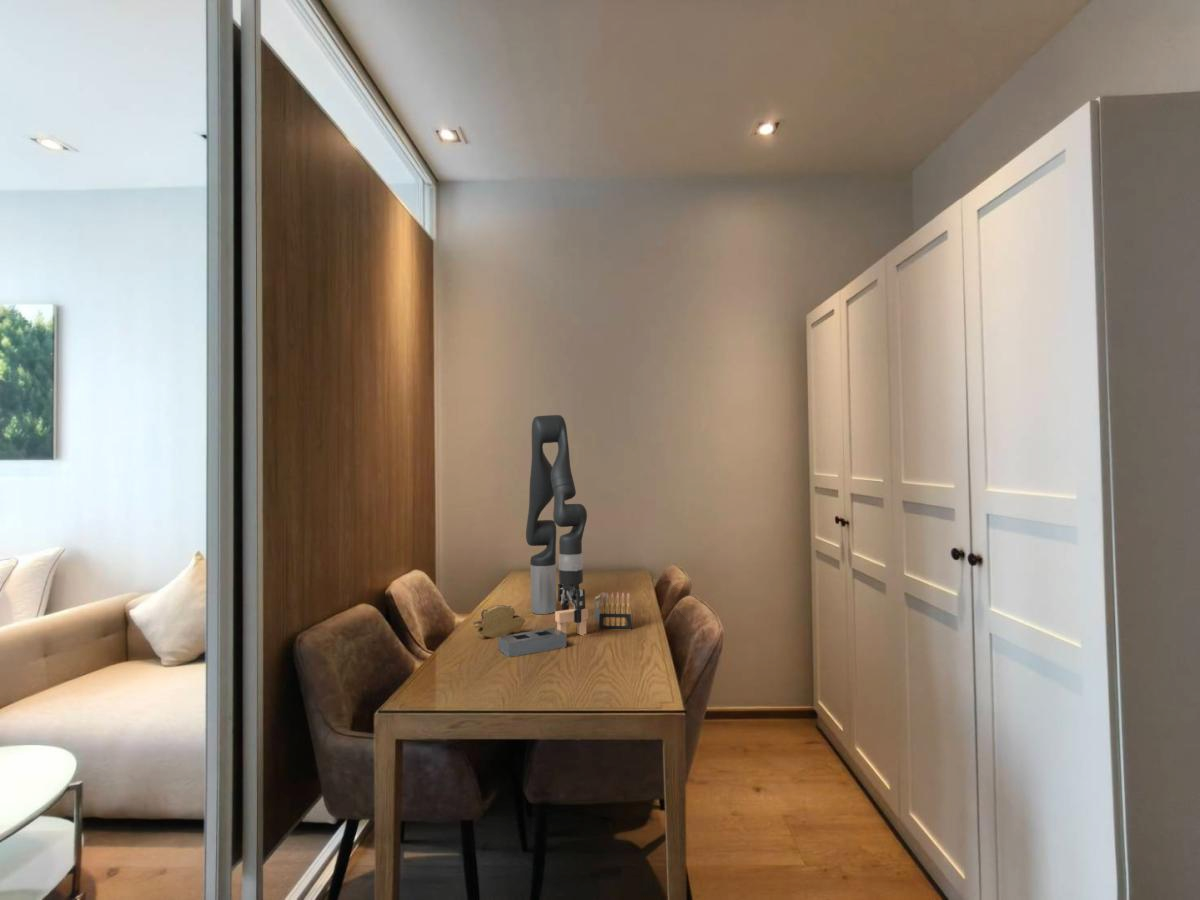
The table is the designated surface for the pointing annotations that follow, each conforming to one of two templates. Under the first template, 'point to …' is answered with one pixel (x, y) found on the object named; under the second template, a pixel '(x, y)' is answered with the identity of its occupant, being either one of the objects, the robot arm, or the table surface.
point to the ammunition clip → (621, 613)
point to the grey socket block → (532, 642)
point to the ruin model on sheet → (596, 606)
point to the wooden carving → (499, 621)
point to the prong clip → (568, 616)
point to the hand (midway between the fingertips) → (571, 619)
